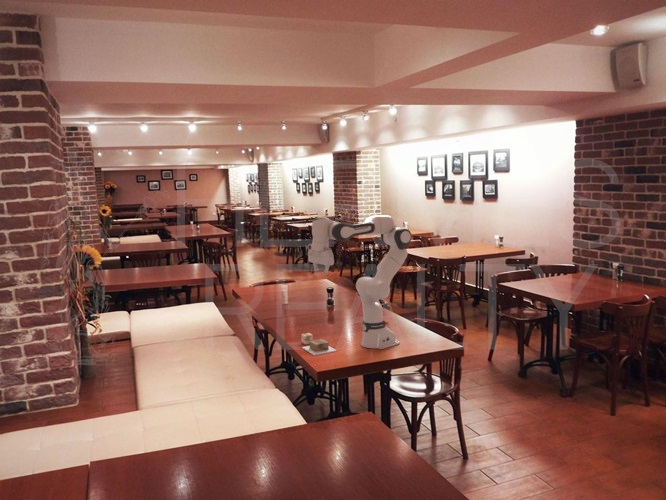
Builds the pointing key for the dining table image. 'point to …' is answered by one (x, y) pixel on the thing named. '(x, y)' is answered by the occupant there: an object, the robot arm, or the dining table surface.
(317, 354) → the white flat slab
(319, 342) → the walnut base
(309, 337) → the ash cube
